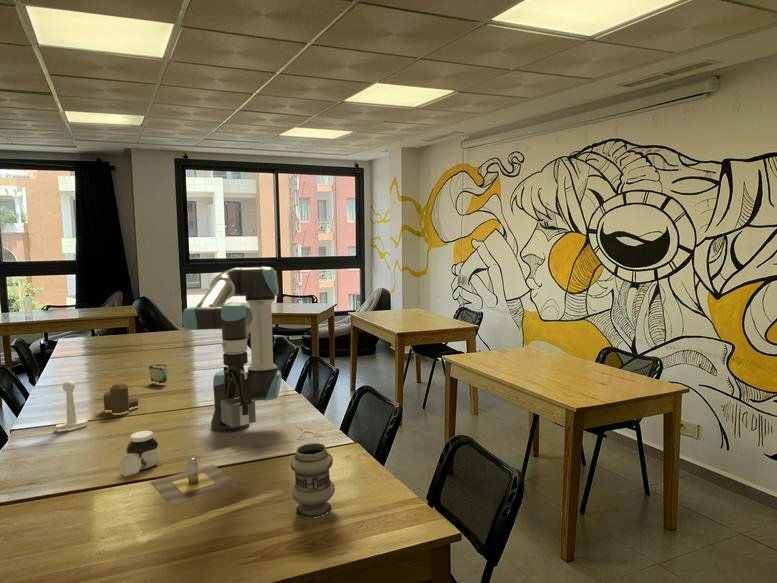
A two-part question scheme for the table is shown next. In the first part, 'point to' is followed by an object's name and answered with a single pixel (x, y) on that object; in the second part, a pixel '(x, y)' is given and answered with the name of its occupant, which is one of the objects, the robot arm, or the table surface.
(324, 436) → the scissors
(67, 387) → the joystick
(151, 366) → the food container
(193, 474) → the steel post
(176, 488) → the base plate
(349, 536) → the table surface
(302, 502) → the apothecary jar
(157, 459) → the spread jar
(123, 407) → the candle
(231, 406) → the collar
